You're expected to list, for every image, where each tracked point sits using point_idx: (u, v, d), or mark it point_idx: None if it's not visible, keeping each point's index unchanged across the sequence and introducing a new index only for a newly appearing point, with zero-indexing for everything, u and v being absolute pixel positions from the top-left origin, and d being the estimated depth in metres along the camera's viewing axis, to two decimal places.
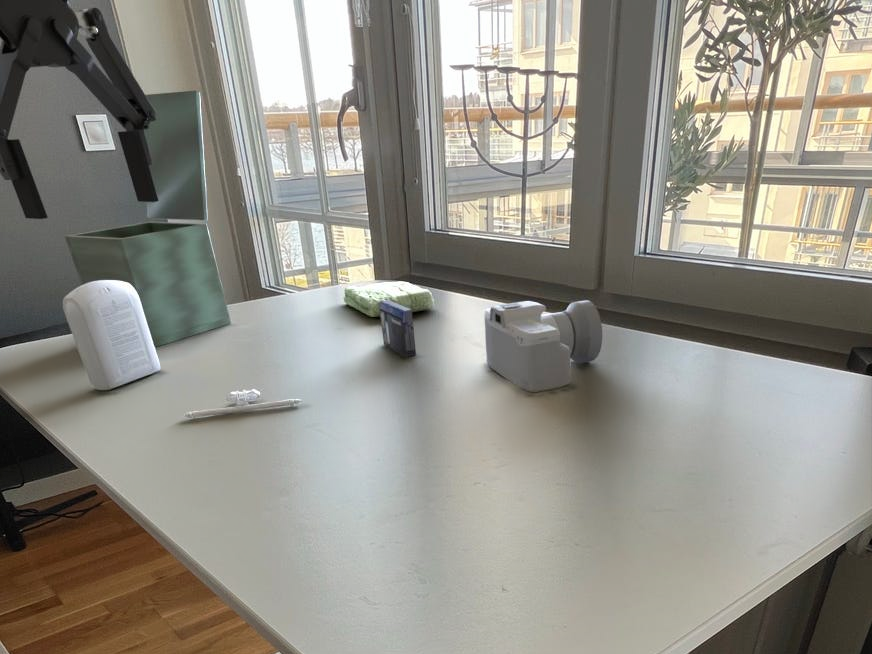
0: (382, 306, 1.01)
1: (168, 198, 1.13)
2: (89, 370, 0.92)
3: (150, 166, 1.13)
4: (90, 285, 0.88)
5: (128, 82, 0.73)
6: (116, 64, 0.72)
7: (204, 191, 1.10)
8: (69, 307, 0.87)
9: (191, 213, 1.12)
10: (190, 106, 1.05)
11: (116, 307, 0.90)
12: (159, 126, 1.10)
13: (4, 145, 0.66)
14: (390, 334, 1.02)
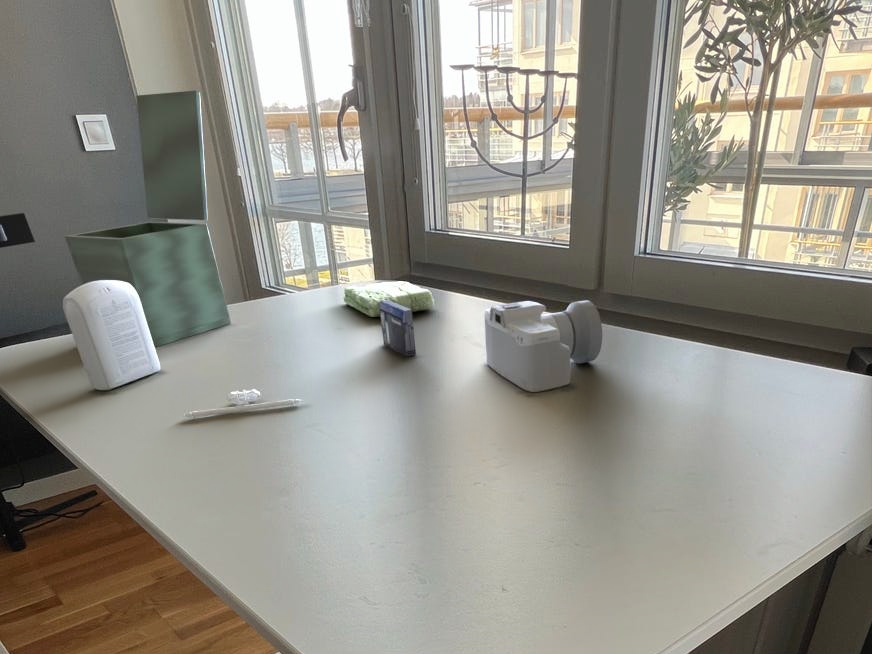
0: (382, 306, 1.01)
1: (168, 198, 1.13)
2: (89, 370, 0.92)
3: (150, 166, 1.13)
4: (90, 285, 0.88)
5: None
6: None
7: (204, 191, 1.10)
8: (69, 307, 0.87)
9: (191, 213, 1.12)
10: (190, 106, 1.05)
11: (116, 308, 0.90)
12: (159, 126, 1.10)
13: None
14: (390, 334, 1.02)
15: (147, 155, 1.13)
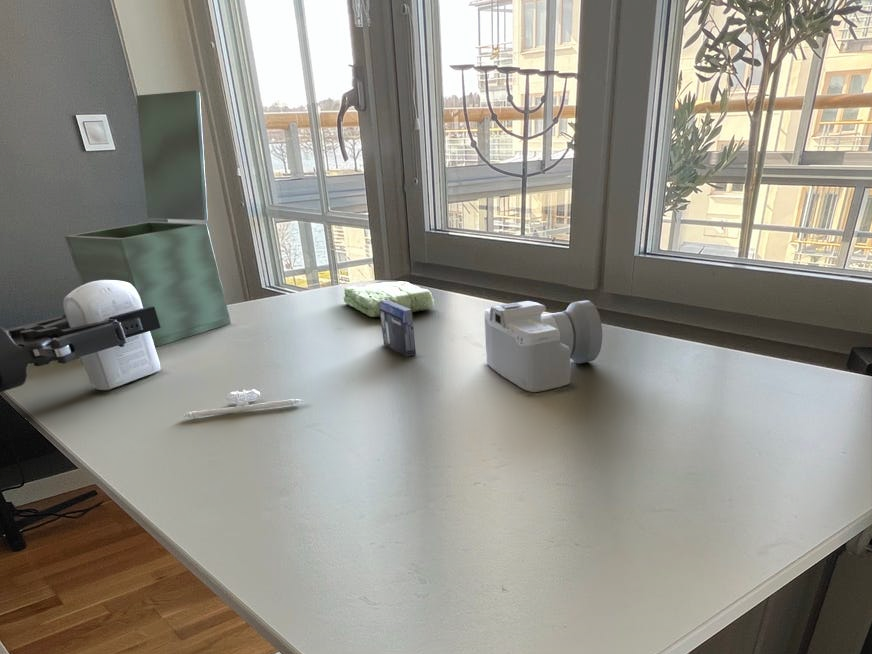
0: (382, 306, 1.01)
1: (168, 198, 1.13)
2: (89, 370, 0.92)
3: (150, 166, 1.13)
4: (91, 285, 0.88)
5: None
6: None
7: (204, 191, 1.10)
8: (70, 307, 0.87)
9: (191, 213, 1.12)
10: (190, 106, 1.05)
11: (116, 308, 0.90)
12: (159, 126, 1.10)
13: None
14: (390, 334, 1.02)
15: (147, 155, 1.13)
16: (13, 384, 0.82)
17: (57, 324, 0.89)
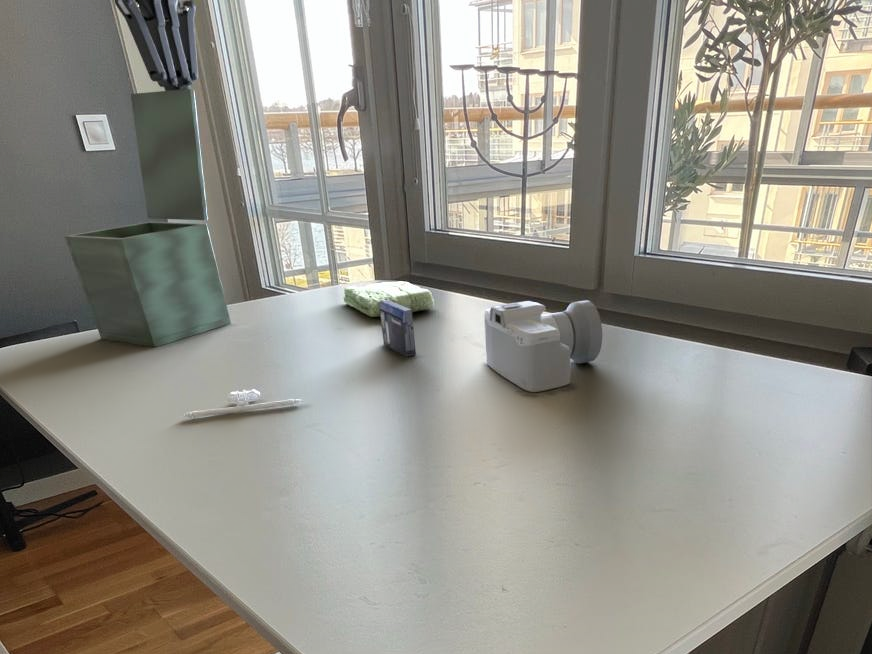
0: (382, 306, 1.01)
1: (167, 198, 1.13)
2: None
3: (148, 166, 1.13)
4: None
5: (190, 47, 1.07)
6: (188, 32, 1.06)
7: (203, 191, 1.09)
8: None
9: (191, 214, 1.12)
10: (185, 105, 1.05)
11: None
12: (155, 125, 1.09)
13: (174, 89, 1.07)
14: (390, 334, 1.02)
15: (144, 155, 1.12)
16: None
17: None
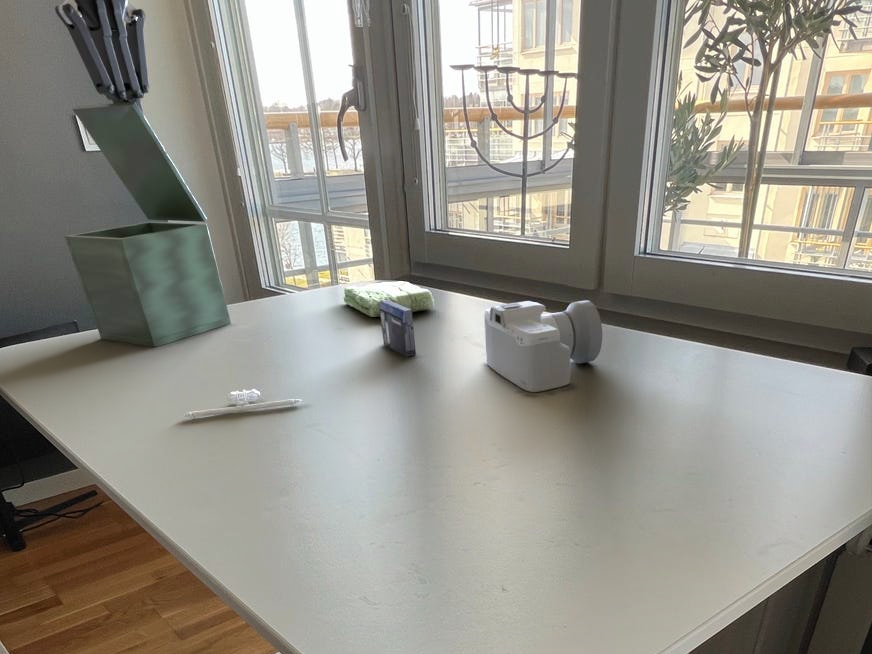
0: (382, 306, 1.01)
1: (159, 203, 1.12)
2: None
3: (125, 175, 1.10)
4: None
5: (140, 58, 1.02)
6: (138, 43, 1.01)
7: (190, 195, 1.08)
8: None
9: (189, 216, 1.12)
10: (135, 120, 0.99)
11: None
12: (113, 138, 1.04)
13: None
14: (390, 334, 1.02)
15: (116, 165, 1.09)
16: None
17: None
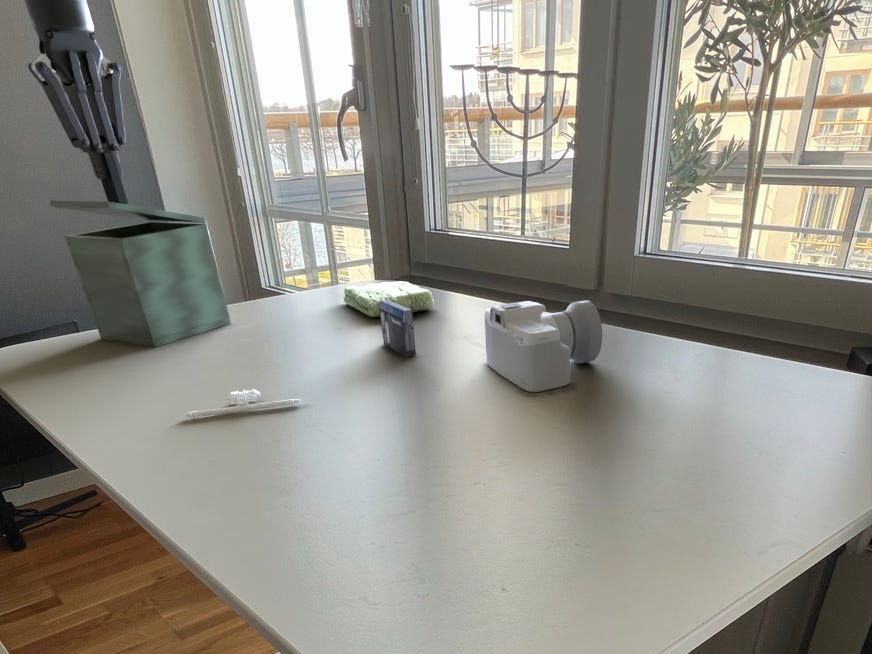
0: (382, 306, 1.01)
1: (157, 219, 1.13)
2: None
3: (117, 215, 1.11)
4: None
5: (116, 111, 1.01)
6: (114, 96, 1.00)
7: (184, 216, 1.08)
8: None
9: (190, 222, 1.12)
10: (114, 209, 1.00)
11: None
12: (97, 211, 1.05)
13: (99, 156, 1.01)
14: (390, 334, 1.02)
15: None
16: (89, 13, 0.93)
17: None
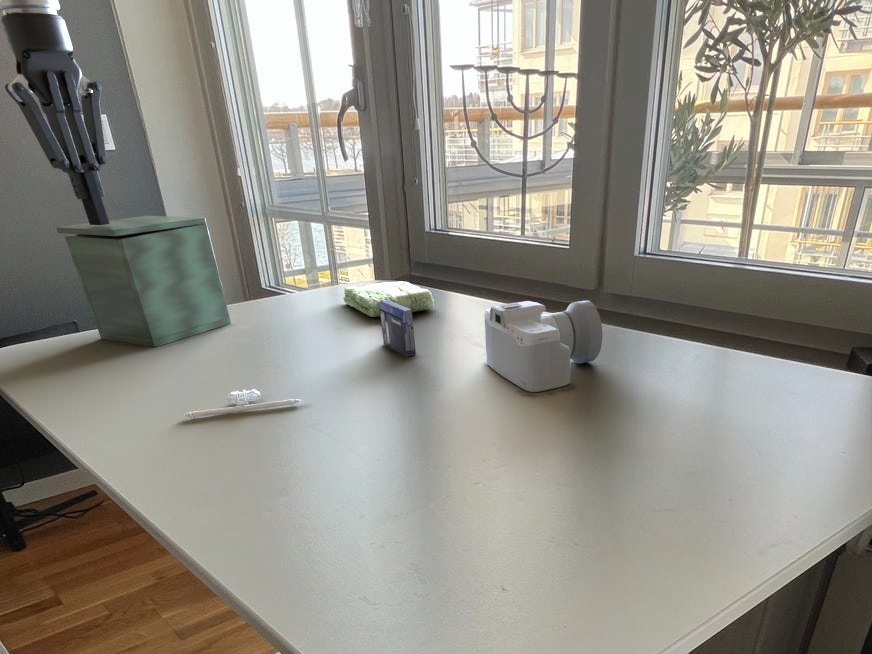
0: (382, 306, 1.01)
1: None
2: None
3: None
4: None
5: (96, 131, 0.99)
6: (94, 116, 0.99)
7: (185, 222, 1.09)
8: None
9: None
10: None
11: None
12: None
13: (79, 176, 1.00)
14: (390, 334, 1.02)
15: None
16: (67, 33, 0.92)
17: None
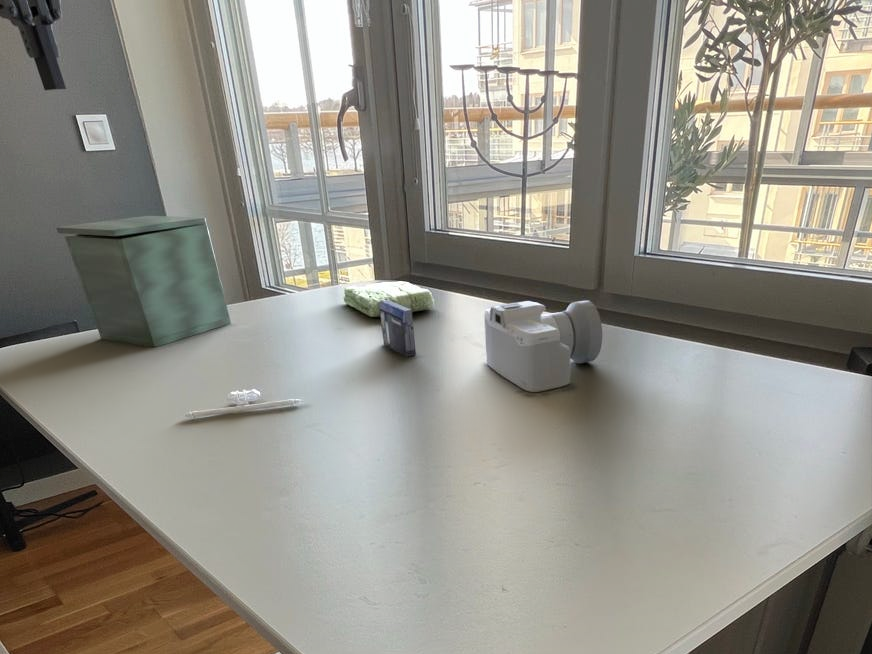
0: (382, 306, 1.01)
1: None
2: None
3: None
4: None
5: None
6: None
7: (185, 222, 1.09)
8: None
9: None
10: None
11: None
12: None
13: (30, 29, 0.90)
14: (390, 334, 1.02)
15: None
16: None
17: None
